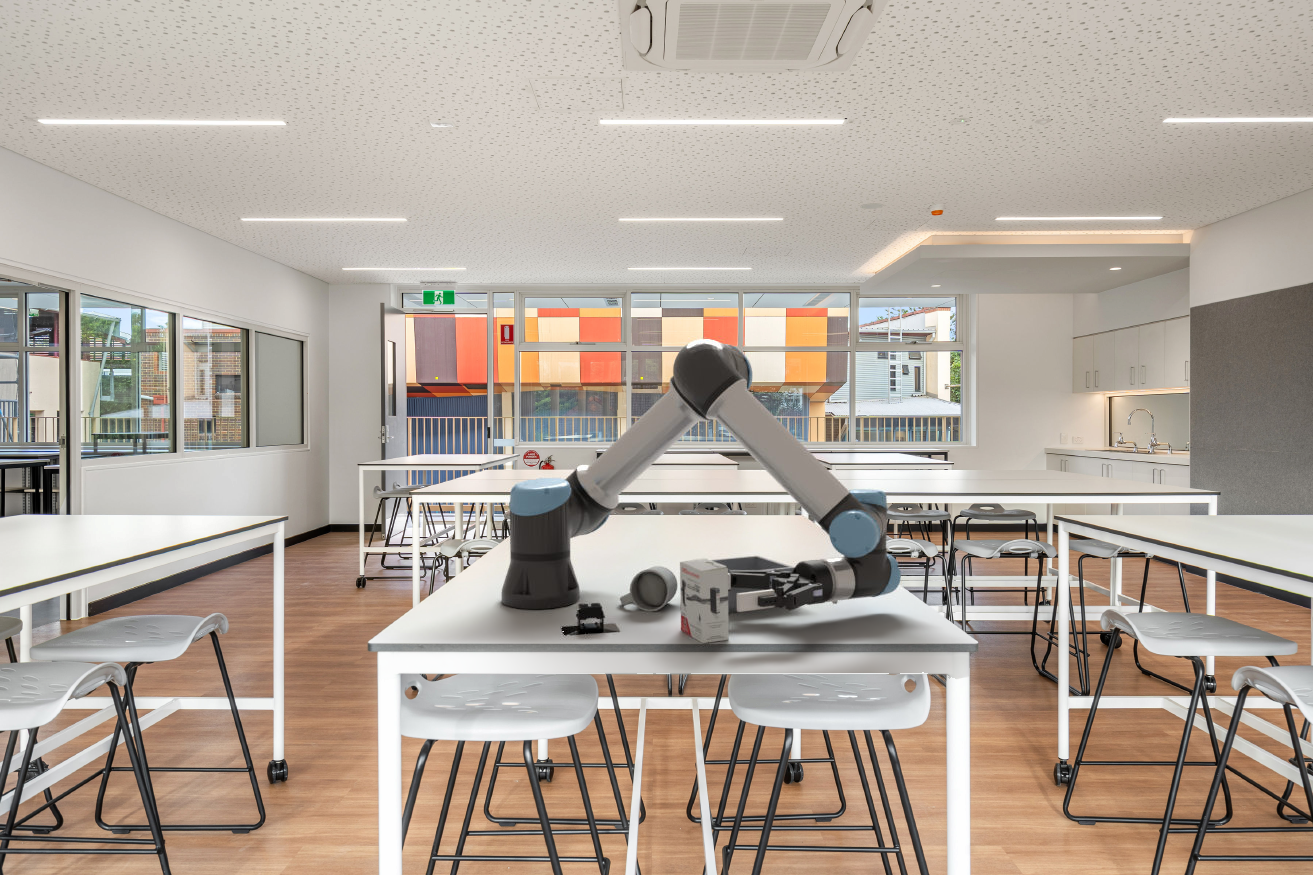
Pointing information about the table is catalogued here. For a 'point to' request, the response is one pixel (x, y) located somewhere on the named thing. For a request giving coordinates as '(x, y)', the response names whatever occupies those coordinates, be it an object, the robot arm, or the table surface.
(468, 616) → the table surface
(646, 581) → the ceramic mug
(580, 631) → the black angular piece
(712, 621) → the ink box
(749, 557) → the bin
